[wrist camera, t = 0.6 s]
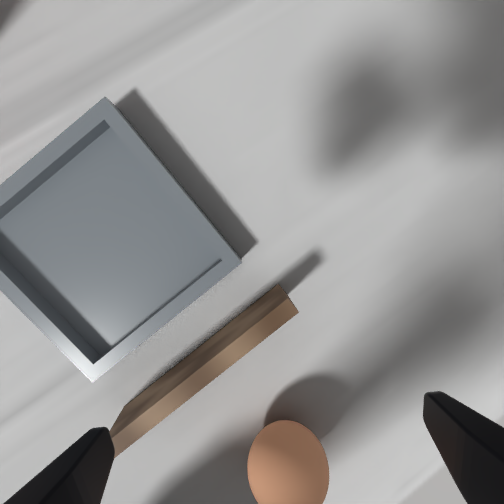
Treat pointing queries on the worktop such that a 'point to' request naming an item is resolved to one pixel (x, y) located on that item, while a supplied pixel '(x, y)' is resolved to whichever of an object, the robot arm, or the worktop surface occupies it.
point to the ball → (287, 465)
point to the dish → (104, 242)
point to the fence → (201, 367)
